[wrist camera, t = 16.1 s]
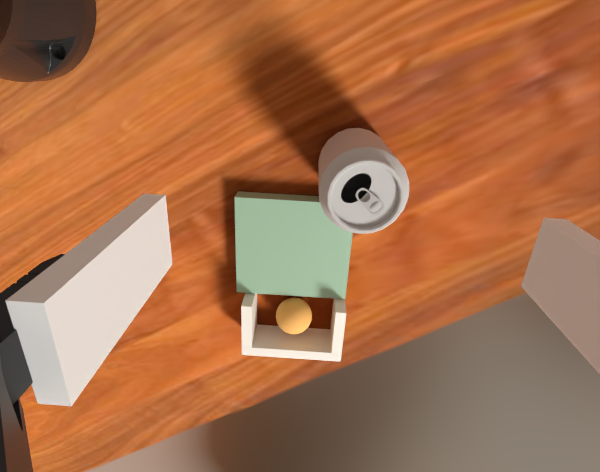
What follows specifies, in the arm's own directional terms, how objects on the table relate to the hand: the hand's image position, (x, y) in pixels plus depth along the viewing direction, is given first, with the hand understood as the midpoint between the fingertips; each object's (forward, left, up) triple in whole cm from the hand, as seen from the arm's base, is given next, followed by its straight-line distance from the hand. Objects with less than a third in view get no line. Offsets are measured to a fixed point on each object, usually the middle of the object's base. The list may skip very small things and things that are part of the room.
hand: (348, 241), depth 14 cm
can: (+3, -4, -29) cm, 29 cm away
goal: (-3, -24, -29) cm, 37 cm away
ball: (-2, -23, -26) cm, 35 cm away
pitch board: (-3, -14, -29) cm, 32 cm away
